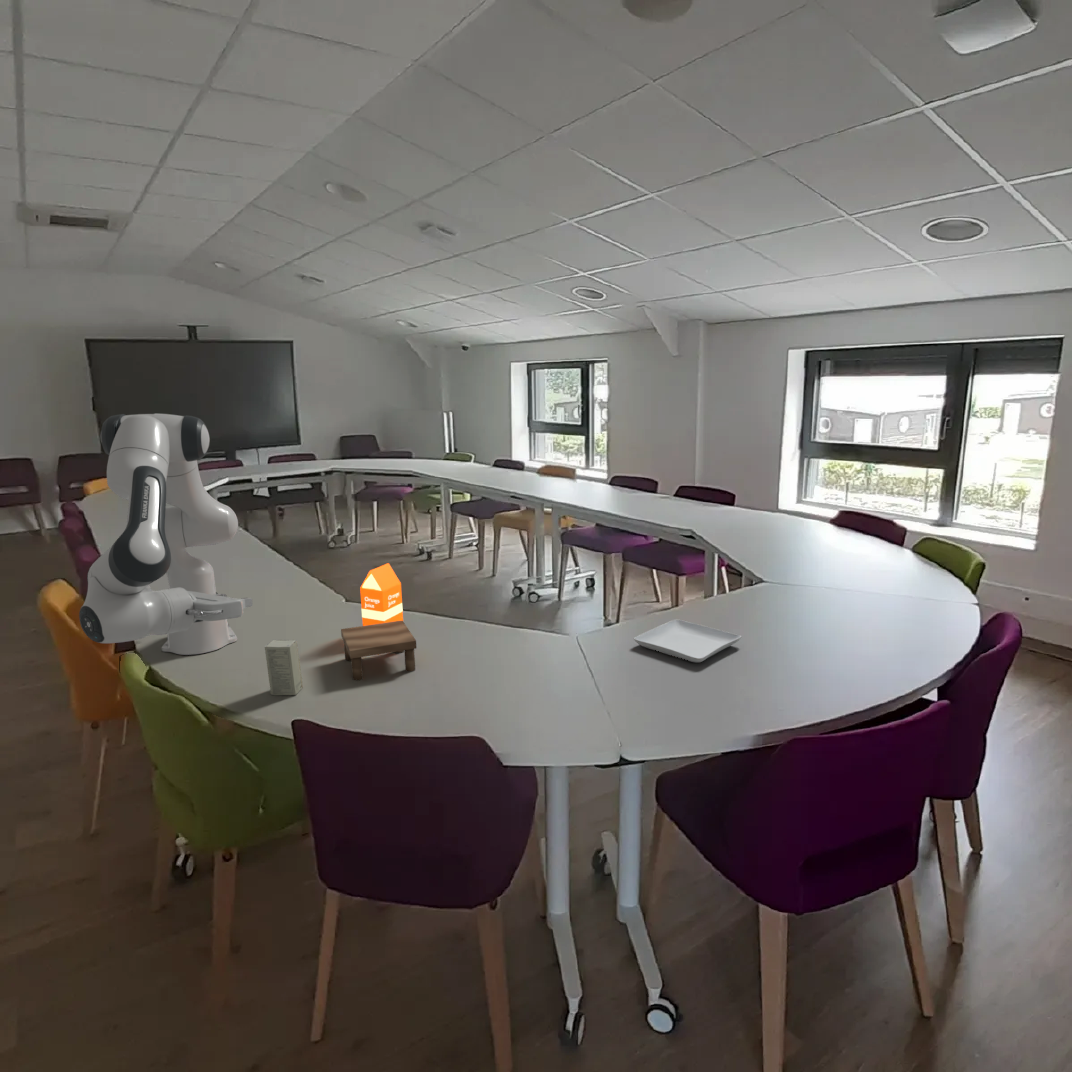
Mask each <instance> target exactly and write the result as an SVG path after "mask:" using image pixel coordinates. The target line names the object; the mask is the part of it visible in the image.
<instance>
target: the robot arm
mask: <svg viewBox="0 0 1072 1072" xmlns="http://www.w3.org/2000/svg"><path fill="white" fill-rule="evenodd" d="M101 425H102V426H101V430H100V441H101V445H102V449H103V451H104V453H105V454H106V455H108V459H107V464H106V482H107V486H108V488H109V489H110V491H111V492H113V493H114V494H115V495H116V496H118V497H119V498H121V499H122V500H127V501H128V505H127V516H126V517H127V518H126V525H125V529H124V530H123V532H122V533H121V534H120V536H119V537H118V538H116V540H115V541H114V543H113V544H112V545H110V547H109V548H108V549H107V550H106V551H105V552H104V553H102V554H101V555H100V556H99V557H98V558H97V559H96V560H95V561H94V562H93V563H92V564H91V566H90V567H89V569H88V571H87V575H86V579H87V580H86V581H87V592H86V597H85V600H84V603H83V605H82V606H80V610H79V613H78V614H79V615H78V617H79V624H80V627H81V629H82V631H83V633H84V634H85V635H86V636H87V637H88V638H89V639H90V640H92V641H93V642H95V643H98V644H99V643H100V644H115V643H116V644H117V643H118V644H119V643H125V642H132V641H137V640H142V639H144V638H146V637H148V636H149V637H150V636H165V635H166V636H167V640H166V641H165V643H164V644H163V645H162V646H161V651H162V652H164V653H165V652H166V653H172V654H177V655H182V656H183V655H185V656H188V655H189V656H190V655H191V656H193V655H199V654H204V653H210V652H213V651H216V650H217V651H218V649H221V648H223V647H225V646H227V645H228V644H231V643H235V642H237V641H238V637H237V635H236V633H235V632H234V630H233V629H232V628H231V626H230V624H229V623H228V620H229V619H237V618H241V617H242V616H243V615H244V609H246V608H251V607H252V606H253V598H251V597H242V598H236V597H230V596H227V594H225V593H218V592H217V588H216V580H215V572H214V567H213V566H212V565H211V564H210V563H209V561H207V560H204V559H202V558H198V557H196V556H193V555H192V554H190V553H189V552H188V551H187V550H186V548H190V547H191V548H193V547H203V546H214V545H218V544H222V543H226V542H229V541H232V540H233V539H234V538H235V535H236V534H237V532H238V529H239V520H238V517H237V515H236V513H235V511H234V510H233V509H232V508H231V507H230V506H229V505H226V504H224V503H222V502H220V501H218V499H215V498H213V496H212V495H210V493H209V492H207V490H206V489H205V487H204V485H203V482H202V479H201V475H200V470H199V469H200V468H199V464H198V460H202V458H204V457H206V455H207V454H208V449H209V447H210V443H211V442H210V440H211V439H210V433H209V430H208V428H207V425H206V423H205V422H204V421H203V420H202V419H201V418H199V417H197V416H192V415H187V414H186V415H177V414H169V413H138V414H127V415H126V414H125V413H121V414H115V415H110V416H109V417H107V418H106V419H105V421H103V423H102V424H101ZM167 504H168V505H170V506H167ZM164 575H166V578H167V582H168V586H169V588H165V589H159V590H153V589H151V586H150V585H151V584H152V583H154V582H156V581H157V580H159V579H161V578H162V577H164Z"/></svg>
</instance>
